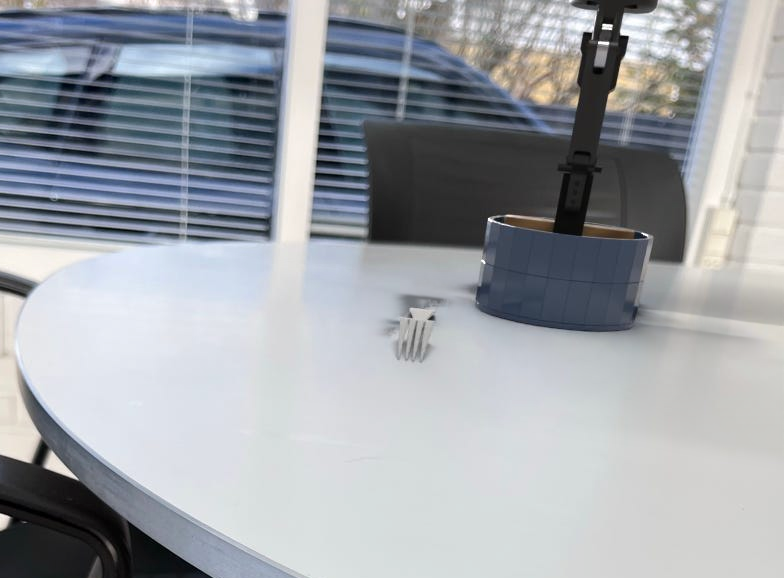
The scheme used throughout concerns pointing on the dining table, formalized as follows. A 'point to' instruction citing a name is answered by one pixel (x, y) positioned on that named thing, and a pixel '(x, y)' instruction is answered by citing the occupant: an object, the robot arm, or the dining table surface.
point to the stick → (588, 231)
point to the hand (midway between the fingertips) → (565, 246)
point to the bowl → (562, 277)
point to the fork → (416, 323)
